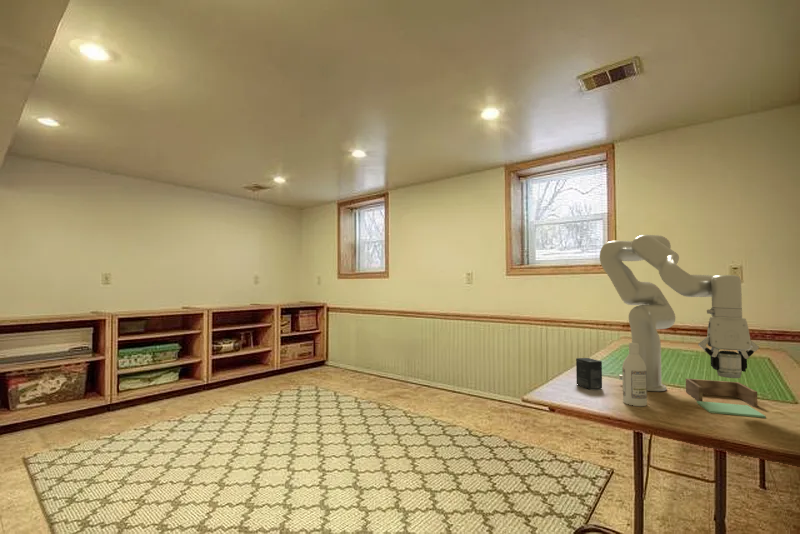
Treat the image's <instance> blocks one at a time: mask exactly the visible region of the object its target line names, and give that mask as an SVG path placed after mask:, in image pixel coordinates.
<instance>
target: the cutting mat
mask: <svg viewBox="0 0 800 534" xmlns="http://www.w3.org/2000/svg"><path fill="white" fill-rule="evenodd" d="M696 403H697V404H698V405H699V406H701V408H703V409H704V410H705V411H707V412H709V413H711V414H719V415H731V416H741V417H750V418H751V417H752V418H762V419H766V418H767V417H766V415H765V414H763V413H761V412H760V411H759V410H757V409H755V408H753V407H751V405H747V404H735V403H726V402H725V403H724V402H714V401H704V400H703V401H697V400H696Z"/></svg>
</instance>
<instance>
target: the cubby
mask: <svg viewBox="0 0 800 534" xmlns="http://www.w3.org/2000/svg"><path fill="white" fill-rule="evenodd" d="M685 392H687V394H688V395H689V396H690V395H691V396H690V397H692V398H693V399H694V398H695V399H694V400H695V401H696V402H697V401H704V400H703V395H707V396H710V395H711V396H719V397H721V396H722V397H734V398H738V399H739V400H741V401H743V402H745V403H746V402H747V403H746V404H749V406H751V405H752V408H753V407H754V408H758V391H757V390H754V389H752V388H751V387H749V386H747V385H745V384H743V383H740V382H739V381H738V382H737V381H725V380H723V381H722V380H713V379H711V380H710V379H698V378H697V379H696V378H685Z"/></svg>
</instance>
